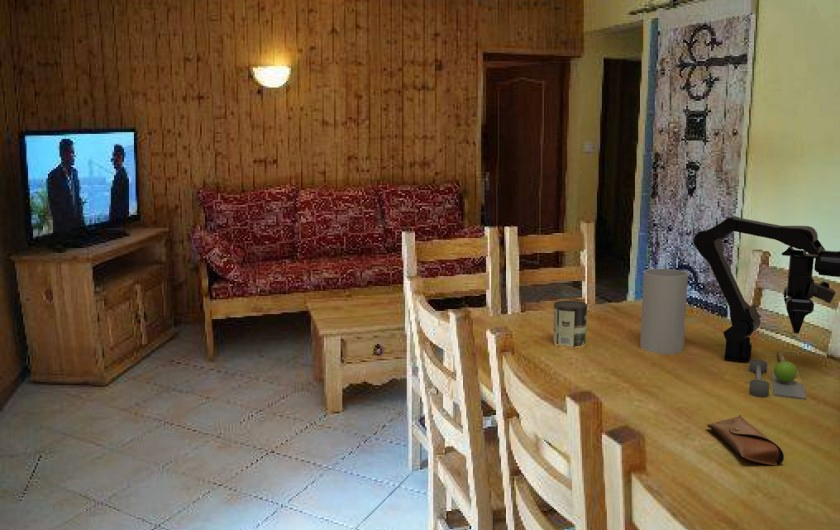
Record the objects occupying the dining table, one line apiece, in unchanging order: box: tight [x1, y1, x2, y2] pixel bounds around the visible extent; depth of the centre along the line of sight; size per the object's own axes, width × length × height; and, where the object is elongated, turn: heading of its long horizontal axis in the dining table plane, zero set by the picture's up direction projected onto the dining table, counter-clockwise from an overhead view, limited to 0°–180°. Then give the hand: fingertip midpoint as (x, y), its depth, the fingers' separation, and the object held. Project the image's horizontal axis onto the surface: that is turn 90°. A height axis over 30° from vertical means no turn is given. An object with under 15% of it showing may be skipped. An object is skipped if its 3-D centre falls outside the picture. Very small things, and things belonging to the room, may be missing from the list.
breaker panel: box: [771, 371, 807, 401], centre depth 181 cm, size 7×18×3 cm, turn 155°
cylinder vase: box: [639, 268, 689, 355], centre depth 212 cm, size 12×12×25 cm
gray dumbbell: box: [748, 359, 770, 398], centre depth 184 cm, size 4×22×4 cm, turn 155°
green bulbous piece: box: [773, 350, 798, 382], centre depth 185 cm, size 5×6×12 cm
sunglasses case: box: [706, 414, 785, 467], centre depth 148 cm, size 18×7×7 cm
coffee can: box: [552, 300, 588, 347], centre depth 219 cm, size 10×10×14 cm
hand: (795, 329), depth 191 cm, fingers open, 9 cm apart
